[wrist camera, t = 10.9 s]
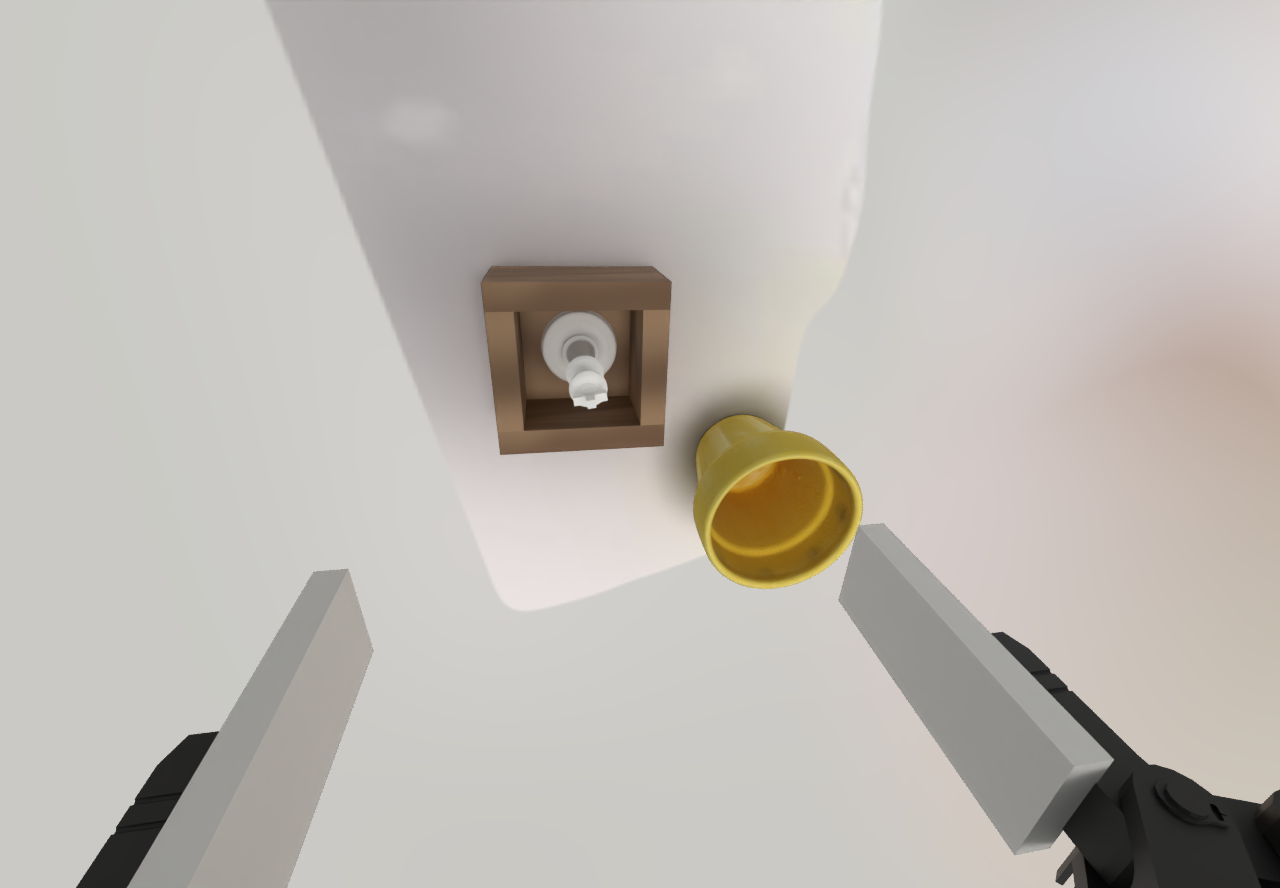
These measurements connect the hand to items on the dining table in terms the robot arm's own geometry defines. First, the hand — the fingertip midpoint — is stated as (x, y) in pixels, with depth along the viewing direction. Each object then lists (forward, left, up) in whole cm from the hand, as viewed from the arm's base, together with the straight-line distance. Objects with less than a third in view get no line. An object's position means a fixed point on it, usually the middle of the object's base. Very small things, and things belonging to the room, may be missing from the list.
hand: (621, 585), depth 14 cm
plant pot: (+9, +12, -24) cm, 28 cm away
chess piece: (0, 0, -23) cm, 23 cm away
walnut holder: (0, 0, -24) cm, 24 cm away
